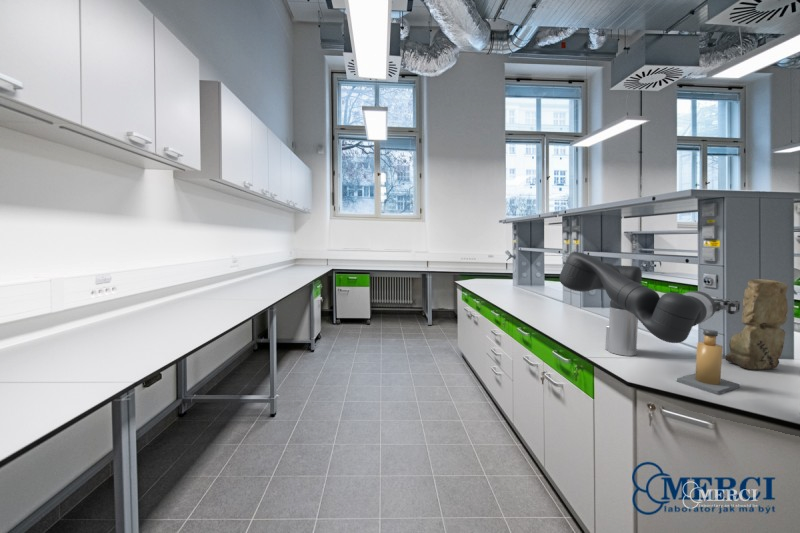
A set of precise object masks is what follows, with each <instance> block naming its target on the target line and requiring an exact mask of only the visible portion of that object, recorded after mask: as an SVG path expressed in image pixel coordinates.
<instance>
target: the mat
mask: <svg viewBox="0 0 800 533" xmlns="http://www.w3.org/2000/svg"><path fill="white" fill-rule="evenodd" d="M695 375H696V372H695V373H691V374H689V375H684V376H680V377H677V378H676V382H677V383H681V384H683V385H687V386H690V387H693V388H695V389H698V390H701V391H704V392H708V393H711V394H714V395H718V396H719V395H720V394H723V393H727V392H729V391H733V390H736V389H739V388H740V387H741V384H740V383H737V382H733V381H732V380H727V379H723V378H721V380H720V384H719V385H711V384H706V383H702V382H699V381H697V380H696V379H695Z"/></svg>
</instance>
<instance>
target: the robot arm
mask: <svg viewBox="0 0 800 533" xmlns="http://www.w3.org/2000/svg"><path fill="white" fill-rule="evenodd" d="M642 279H643V273H642V270H641V268H640V267H639V266H636V265H618V264H616V265H614V264H612V263H610V262H604V261H601V260H600V259H598V258H597V257H595V256H592V255H590V254H587V253H584V252H579V251H573V252H571V253H569V255H568V257H567V258H566V260H565V263H564V264H563V267H562V270H561V271H560V273H559V279H558V280H559V282H560V284H561V285H562V286H563V287H566V288H567V289H569V290H570V291H571V290H572V291H576V292H582V293H585V292H589V291H594V290H600V291H601V290H603V291H605V293H606V294H607V296H608V298H609V299H610V301H609V322H608V325H606V327H605V328H606V329H605V330H606V331H605V350H606V351H608V352H609V353H612V354H615V355H618V356H627V357H629V356H630V357H631V356H633V357H634V356H636V355H637V348H638V346H637V344H638V329H639V322H640V323H641V324H642V325H643V327H645V329H647V330H646V331H648V332H650V333H651V335H653V336H654V337H656V339H659V340H661V341H663V342H666V343H669V344H671V343H672V344H680V343H682V342H684V341H686V340H687V339H688V337H689V335H690V332H691V331H692V329H693V327H695V326H697V325H699V324H702V323H704V322H706V321H708V320H709V319H710V318H712V317H713V316H714V314H716V313H722V312H723V311H726V313H727V314H729V315H736V314H737V313H739V312H740V309H741V308H740V307H741V301H739V300H731V299H730V298H725V299H723V298H719V297H712V296H711V295H709V294H708V293H706V292H703V291H700V290H691V291H687V292H685V293H678V292H666V293H664V294H662V295H661V297H660V295H659V294H658V292H657V291H655V290H654V289H652V288H649V287H648V286H645V285H643V284H642V281H643V280H642Z"/></svg>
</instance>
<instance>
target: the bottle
mask: <svg viewBox="0 0 800 533" xmlns="http://www.w3.org/2000/svg"><path fill="white" fill-rule="evenodd" d="M702 334H703V335H704V337H703V339H704V340H703V341H700V342H697V343H696V344H697V346H696V359H695V360H696V361H695V362H696V363H695V373H696V375H695V379H696V380H697V381H699V382H702V383H706V384H711V385H719V384H720V380H721V379H722V378H721V377H722V376H721V374H722V362H723V348H724V347H723V345H720V344H717V337H718V335H719V332H718V331H717V330H714V329H703V331H702Z"/></svg>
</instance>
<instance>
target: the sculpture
mask: <svg viewBox="0 0 800 533" xmlns="http://www.w3.org/2000/svg"><path fill="white" fill-rule="evenodd" d="M788 288H789V284H788V283H786V282H782V281H778V280H774V279H773V280H772V279H763V278H759V279H758V278H754V279H749V280H748V282H747V287H746V288H745V289H744V292H743V294H744V295H743V296H744V298H743V299H742V308H743V309H742V310H743V311H742V313H741V322H742V324H743V325H745V326H744V327H743V328H742V330H741V331H740V332H739V333H735V334H733V335H732V336H731V338H729V342H728V347H729V351H730V352H729V353H728V354H727V355H725V358H724V359H725V361H726V362H728V363H731V364H736V365H737V366H739V367H740V368H744V369H746V370H751V371H752V370H753V371H754V370H760V371H761V370H773V369H776V368H777V367H778V365H779V364H780V360H779V359H780V357H781V356H782V354H783V353H782V352H783V350H784V344H785V339H786V331H785V330H784V329H782V328H781V326H782V325H783V326H784V324H786V322H787V320H788V317H787V314H788V311H789V309H788V308H789V307H788V298H787V296H786V294H787V292H788Z"/></svg>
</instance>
